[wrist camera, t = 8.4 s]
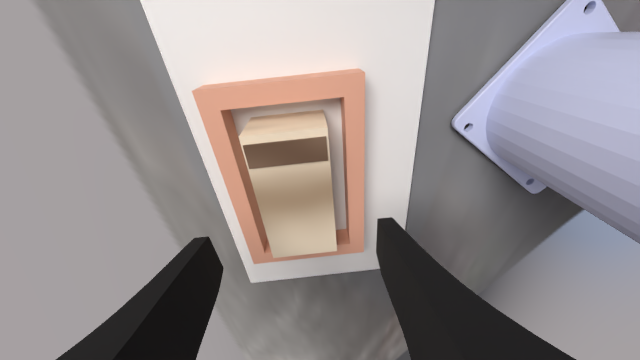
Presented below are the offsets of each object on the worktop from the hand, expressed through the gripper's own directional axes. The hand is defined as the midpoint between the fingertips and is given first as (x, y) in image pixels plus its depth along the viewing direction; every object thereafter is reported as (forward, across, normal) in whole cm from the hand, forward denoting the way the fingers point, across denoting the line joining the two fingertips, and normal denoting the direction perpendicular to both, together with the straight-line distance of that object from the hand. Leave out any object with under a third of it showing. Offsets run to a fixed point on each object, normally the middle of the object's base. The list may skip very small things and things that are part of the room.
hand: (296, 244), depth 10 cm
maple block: (+6, 0, 0) cm, 6 cm away
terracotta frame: (+6, 0, 0) cm, 6 cm away
